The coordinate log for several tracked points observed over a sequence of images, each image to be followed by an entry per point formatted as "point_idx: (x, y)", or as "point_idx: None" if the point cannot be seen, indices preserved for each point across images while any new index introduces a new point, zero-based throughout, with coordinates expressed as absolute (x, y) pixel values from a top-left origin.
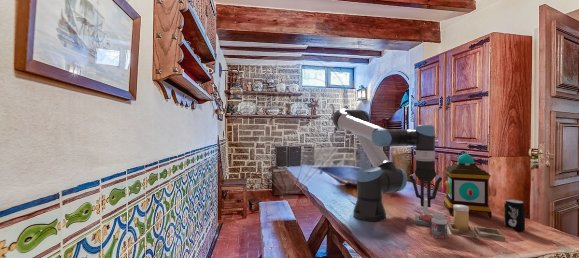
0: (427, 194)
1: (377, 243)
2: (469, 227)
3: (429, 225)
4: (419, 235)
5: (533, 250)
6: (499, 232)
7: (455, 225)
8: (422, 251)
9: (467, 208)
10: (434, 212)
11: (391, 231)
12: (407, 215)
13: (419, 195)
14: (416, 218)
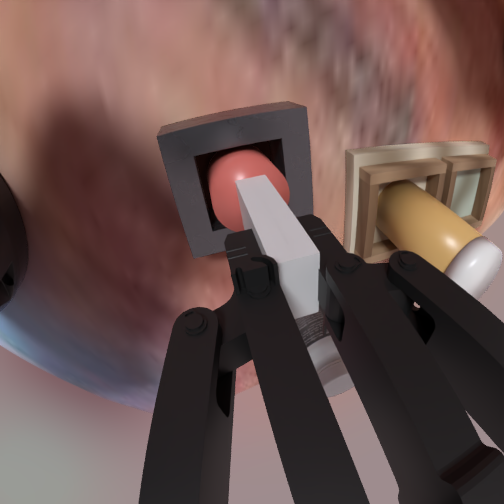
0: (345, 364)
1: (154, 399)
2: (436, 178)
3: None
4: None
5: (489, 219)
6: (486, 194)
7: (391, 240)
8: (257, 381)
9: (482, 292)
10: (324, 387)
11: (130, 334)
12: (85, 23)
13: (238, 364)
14: (188, 217)
